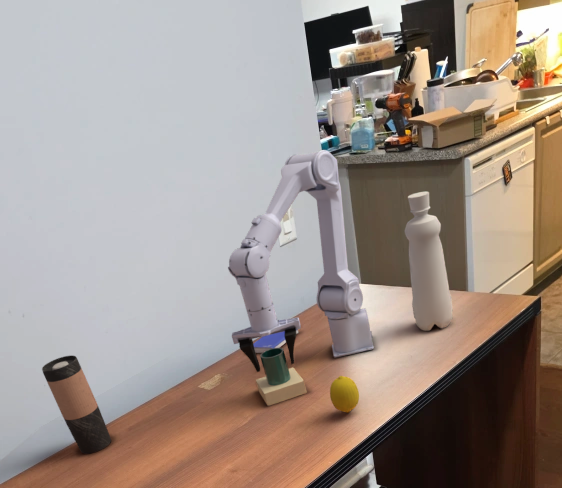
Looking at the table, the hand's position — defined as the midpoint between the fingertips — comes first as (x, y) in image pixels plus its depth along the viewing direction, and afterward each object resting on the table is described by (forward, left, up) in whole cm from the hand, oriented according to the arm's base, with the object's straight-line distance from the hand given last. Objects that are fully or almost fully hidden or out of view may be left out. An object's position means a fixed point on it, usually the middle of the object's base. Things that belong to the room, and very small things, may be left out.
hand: (275, 366), depth 141 cm
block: (0, 0, -6) cm, 6 cm away
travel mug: (+43, +7, -6) cm, 43 cm away
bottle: (-37, -19, -6) cm, 43 cm away
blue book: (+3, -32, -6) cm, 33 cm away
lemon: (-13, +17, -6) cm, 22 cm away
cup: (0, 0, -3) cm, 3 cm away
